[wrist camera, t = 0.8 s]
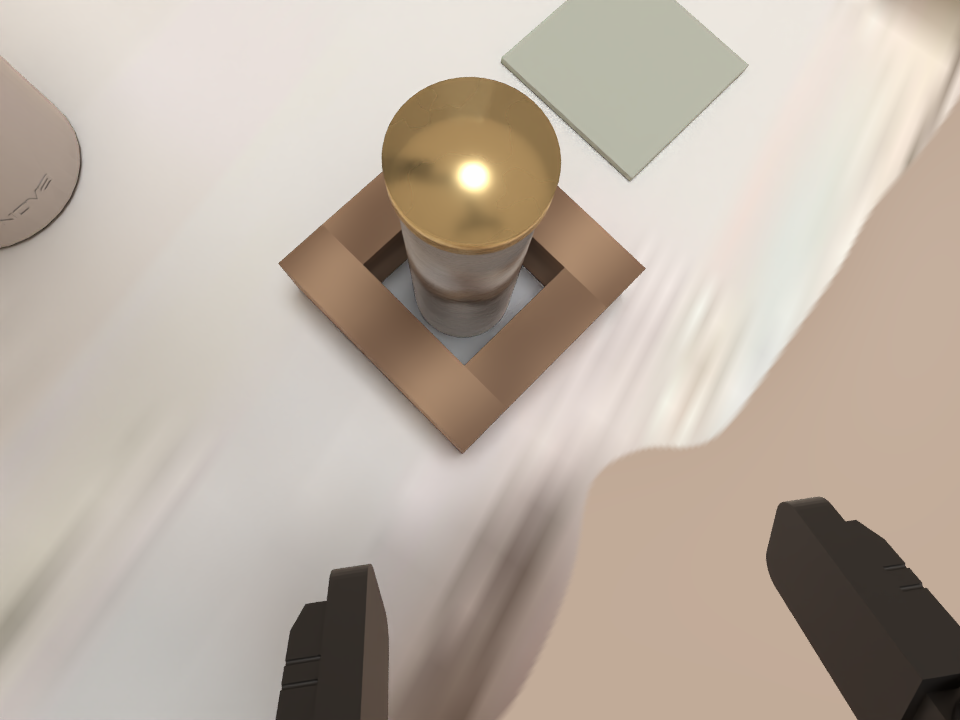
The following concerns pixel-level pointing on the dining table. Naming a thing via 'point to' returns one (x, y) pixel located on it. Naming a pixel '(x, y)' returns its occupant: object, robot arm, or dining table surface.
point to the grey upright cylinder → (468, 195)
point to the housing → (415, 350)
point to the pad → (624, 73)
